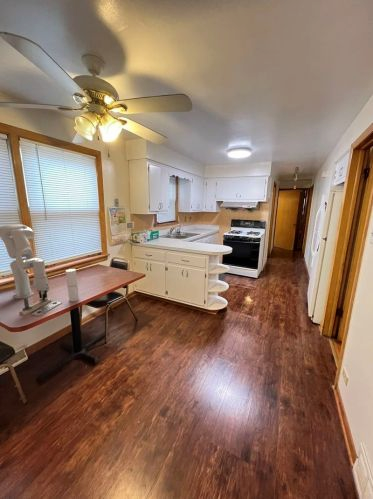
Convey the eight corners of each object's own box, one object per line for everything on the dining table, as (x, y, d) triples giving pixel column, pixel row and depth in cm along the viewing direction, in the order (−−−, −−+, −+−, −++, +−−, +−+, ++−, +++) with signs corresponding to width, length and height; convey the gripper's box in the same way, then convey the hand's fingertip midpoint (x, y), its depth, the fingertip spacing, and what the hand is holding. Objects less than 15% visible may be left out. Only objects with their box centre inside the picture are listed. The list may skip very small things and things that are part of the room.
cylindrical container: (67, 300, 169) (63, 271, 164) (74, 296, 176) (71, 268, 171) (73, 301, 167) (70, 272, 162) (80, 298, 174) (77, 269, 168)
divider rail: (19, 314, 148) (17, 301, 145) (45, 300, 169) (44, 289, 167) (25, 315, 147) (23, 302, 145) (51, 301, 168) (49, 289, 166)
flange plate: (31, 314, 147) (31, 313, 147) (54, 302, 166) (54, 301, 166) (40, 316, 146) (39, 314, 145) (61, 303, 165) (61, 301, 164)
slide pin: (39, 300, 163) (37, 290, 161) (42, 299, 166) (41, 288, 164) (44, 301, 162) (43, 290, 160) (48, 299, 165) (46, 289, 163)
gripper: (26, 276, 157) (30, 298, 161) (44, 278, 154) (48, 300, 158) (35, 273, 165) (39, 294, 169) (53, 274, 162) (56, 296, 165)
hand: (43, 297), depth 163 cm, fingers closed on slide pin, 2 cm apart
